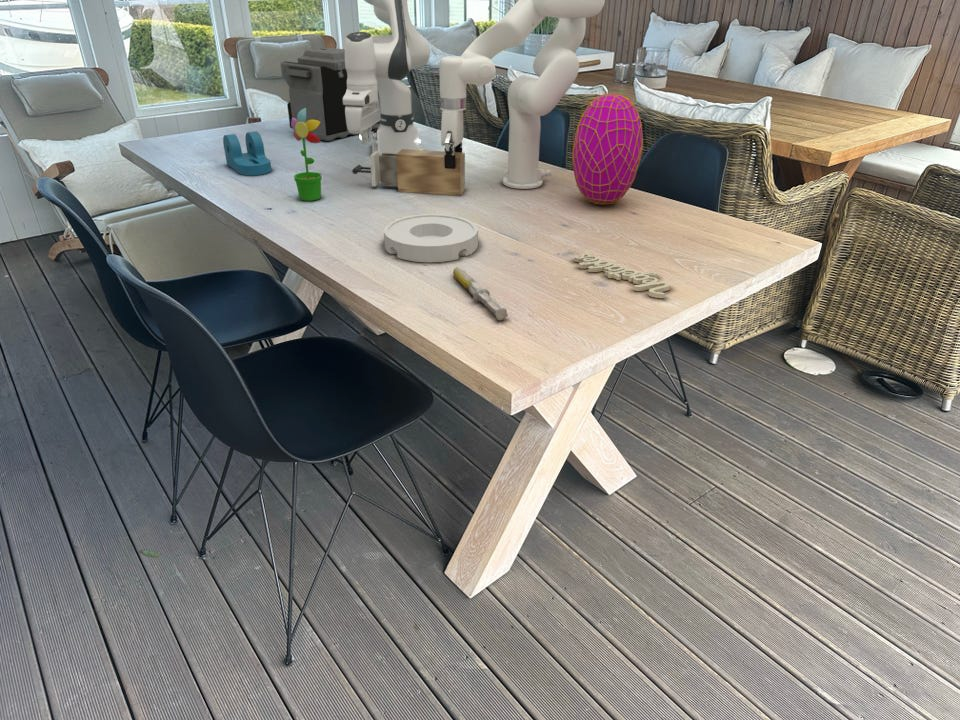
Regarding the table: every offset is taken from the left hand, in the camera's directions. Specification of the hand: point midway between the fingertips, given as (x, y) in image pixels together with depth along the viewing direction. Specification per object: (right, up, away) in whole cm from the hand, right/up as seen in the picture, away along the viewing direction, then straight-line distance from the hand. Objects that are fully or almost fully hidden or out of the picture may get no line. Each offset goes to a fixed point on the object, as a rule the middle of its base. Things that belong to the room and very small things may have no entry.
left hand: (366, 142), depth 207 cm
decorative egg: (+70, -20, -6) cm, 73 cm away
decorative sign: (+67, -47, -52) cm, 96 cm away
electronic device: (-23, +27, +72) cm, 80 cm away
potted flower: (-16, -18, -5) cm, 24 cm away
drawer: (+8, -12, +5) cm, 15 cm away
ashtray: (+22, -37, -36) cm, 57 cm away
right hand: (+26, -7, -2) cm, 27 cm away
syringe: (+34, -52, -62) cm, 88 cm away
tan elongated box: (+20, -14, +3) cm, 24 cm away
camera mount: (-42, -2, +22) cm, 48 cm away
